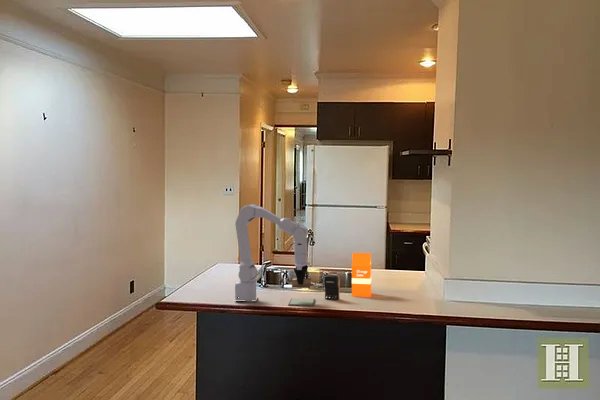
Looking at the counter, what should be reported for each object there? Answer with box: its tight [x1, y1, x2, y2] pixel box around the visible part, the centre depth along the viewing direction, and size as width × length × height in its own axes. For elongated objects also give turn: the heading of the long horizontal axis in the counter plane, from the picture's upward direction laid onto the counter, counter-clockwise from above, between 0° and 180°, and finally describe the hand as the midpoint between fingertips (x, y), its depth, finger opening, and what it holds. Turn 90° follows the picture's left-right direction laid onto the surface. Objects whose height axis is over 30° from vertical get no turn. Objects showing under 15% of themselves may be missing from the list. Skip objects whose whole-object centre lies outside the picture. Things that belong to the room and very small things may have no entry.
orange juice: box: [351, 252, 372, 298], centre depth 249 cm, size 8×9×20 cm
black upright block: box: [323, 273, 341, 301], centre depth 240 cm, size 7×4×11 cm, turn 64°
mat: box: [288, 298, 316, 307], centre depth 234 cm, size 11×11×1 cm
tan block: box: [291, 277, 312, 289], centre depth 234 cm, size 4×8×4 cm, turn 83°
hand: (301, 283), depth 234 cm, fingers closed on tan block, 4 cm apart
